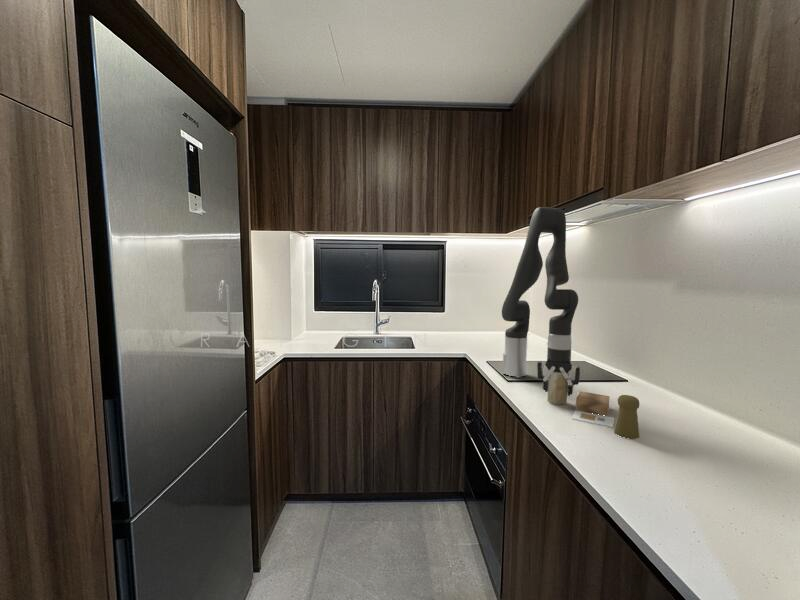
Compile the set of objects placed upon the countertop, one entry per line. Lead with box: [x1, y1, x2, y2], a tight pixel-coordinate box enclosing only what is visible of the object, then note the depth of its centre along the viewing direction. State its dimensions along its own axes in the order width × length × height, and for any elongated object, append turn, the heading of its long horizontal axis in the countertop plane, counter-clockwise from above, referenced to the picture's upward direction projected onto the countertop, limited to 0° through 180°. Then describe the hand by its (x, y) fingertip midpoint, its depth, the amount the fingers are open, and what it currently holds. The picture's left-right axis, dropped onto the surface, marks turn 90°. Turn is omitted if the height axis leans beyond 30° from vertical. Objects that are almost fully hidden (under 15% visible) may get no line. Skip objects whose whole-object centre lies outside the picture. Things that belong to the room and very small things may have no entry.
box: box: [546, 372, 570, 406], centre depth 126 cm, size 5×4×11 cm
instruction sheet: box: [571, 409, 615, 428], centre depth 112 cm, size 11×8×1 cm
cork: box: [613, 394, 641, 440], centre depth 101 cm, size 6×6×11 cm
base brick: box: [575, 390, 610, 416], centre depth 120 cm, size 9×9×4 cm
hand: (557, 393), depth 126 cm, fingers open, 7 cm apart
